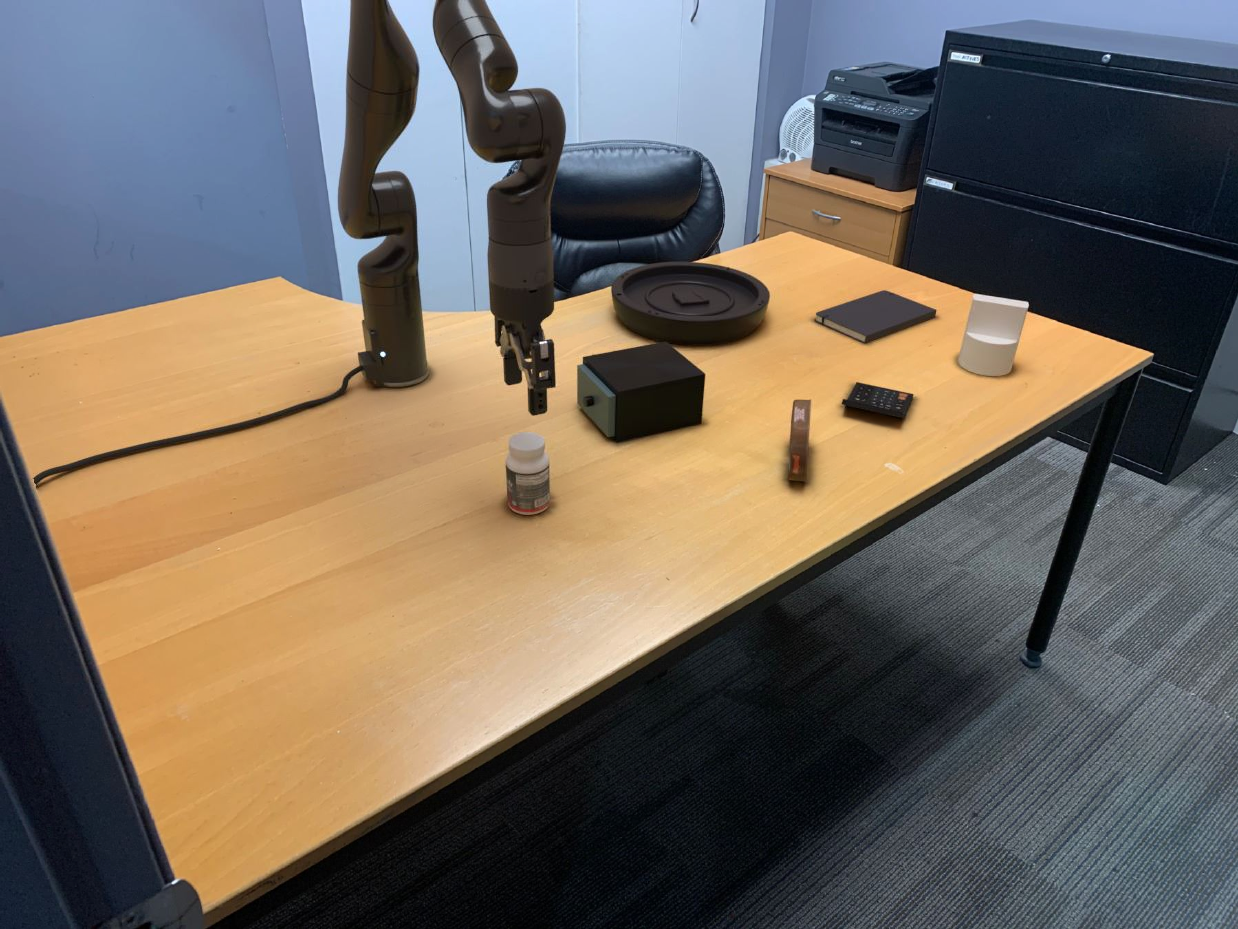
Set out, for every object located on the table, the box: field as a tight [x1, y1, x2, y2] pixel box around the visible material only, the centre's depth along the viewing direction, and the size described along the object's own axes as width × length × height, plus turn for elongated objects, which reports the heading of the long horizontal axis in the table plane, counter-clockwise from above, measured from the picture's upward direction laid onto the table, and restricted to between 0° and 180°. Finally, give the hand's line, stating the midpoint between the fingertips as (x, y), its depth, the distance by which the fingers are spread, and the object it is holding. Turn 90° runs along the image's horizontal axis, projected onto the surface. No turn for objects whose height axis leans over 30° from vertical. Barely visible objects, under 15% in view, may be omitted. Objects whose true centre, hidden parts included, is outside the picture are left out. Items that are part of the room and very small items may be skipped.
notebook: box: [814, 289, 938, 344], centre depth 180 cm, size 13×2×21 cm
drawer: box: [576, 363, 616, 438], centre depth 143 cm, size 15×11×7 cm
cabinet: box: [582, 341, 706, 444], centre depth 144 cm, size 15×13×9 cm
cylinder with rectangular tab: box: [957, 293, 1030, 377], centre depth 161 cm, size 9×9×12 cm
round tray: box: [610, 261, 771, 346], centre depth 178 cm, size 30×6×30 cm
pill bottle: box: [505, 431, 551, 516], centre depth 122 cm, size 6×6×10 cm
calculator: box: [841, 381, 914, 419], centre depth 149 cm, size 9×12×3 cm
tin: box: [787, 398, 812, 483], centre depth 132 cm, size 15×3×8 cm, turn 168°
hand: (525, 398), depth 116 cm, fingers open, 8 cm apart
